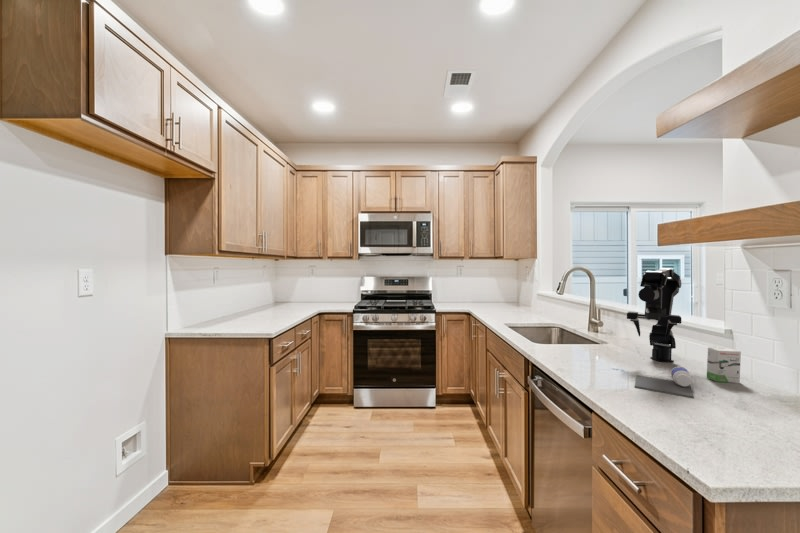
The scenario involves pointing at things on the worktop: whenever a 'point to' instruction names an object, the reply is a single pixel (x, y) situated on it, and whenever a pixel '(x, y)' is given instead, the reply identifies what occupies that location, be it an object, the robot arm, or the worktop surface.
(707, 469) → the worktop surface
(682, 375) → the pill bottle
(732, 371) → the ink box
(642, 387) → the rubber mat
